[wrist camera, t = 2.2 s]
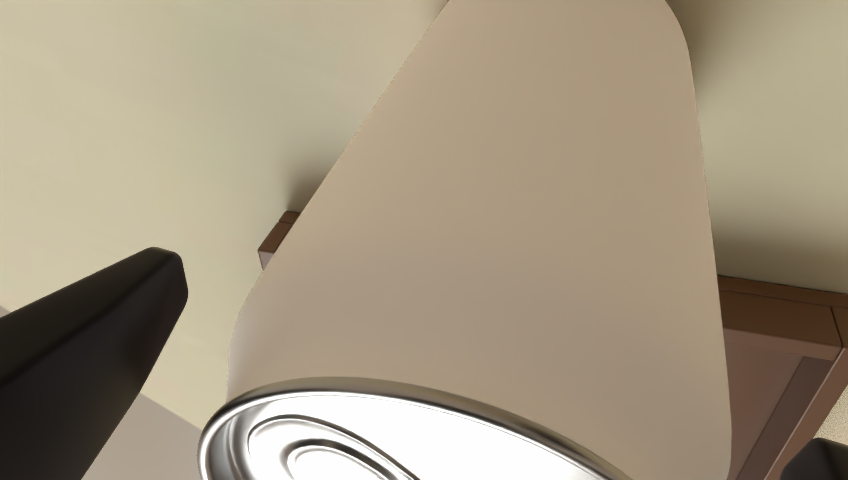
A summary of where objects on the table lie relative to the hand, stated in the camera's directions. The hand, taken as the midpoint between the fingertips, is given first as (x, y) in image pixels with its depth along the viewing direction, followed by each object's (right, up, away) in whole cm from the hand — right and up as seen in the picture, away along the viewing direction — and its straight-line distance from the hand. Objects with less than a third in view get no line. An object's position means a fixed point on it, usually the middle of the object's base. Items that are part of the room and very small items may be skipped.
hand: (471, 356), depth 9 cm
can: (+3, +6, +7) cm, 10 cm away
